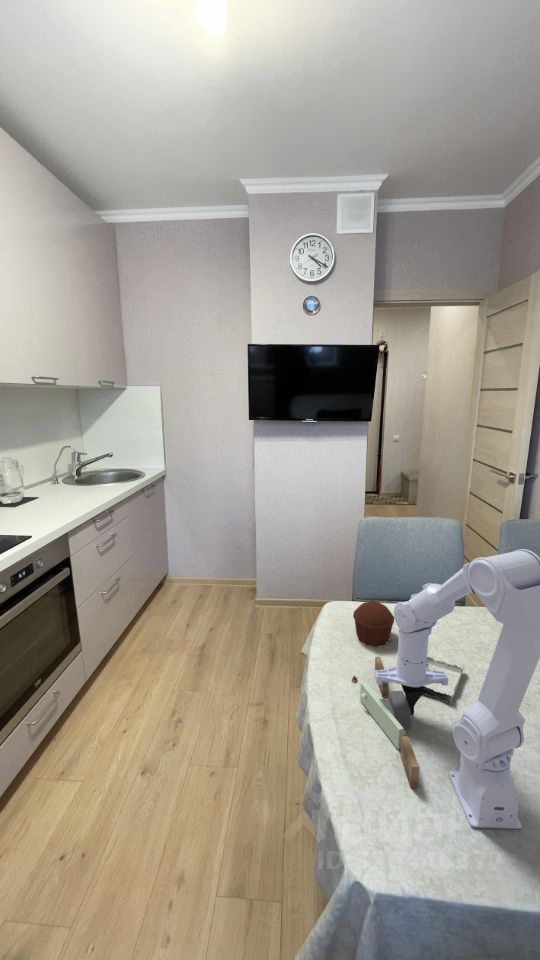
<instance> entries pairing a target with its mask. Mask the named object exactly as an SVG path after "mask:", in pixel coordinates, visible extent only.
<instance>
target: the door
mask: <svg viewBox="0 0 540 960" xmlns="http://www.w3.org/2000/svg"><path fill="white" fill-rule="evenodd" d="M359 693H360V698H359V701H360V702H361V704H362V705H363V706H364V707H365V708H366V710H367V711H368V712H369V714H370V715H371V716H372V718H373V719H374V720H375V722H376V723H377V724H378V725H379V726H380V728H381V730H382V731H383V733H385V735H386V736H387V737H388V739H389V740H390V741H391V743H392V744H393V745H394V746H395V748H397V750H401V739H402V731H405V730H404V729H405V728H403V727H402V726H401V725H400V723H399V722H398V721H397V720H396V719H395V717H394V716H393V715H392V714H391V713H390V711H389V710H388V709H387V708H386V707H385V706H384V704H383V703H382V702H381V701H380V700H379V699H380V698H379V697H378V696H377V694H375V692H374V691H373V690H372V688H370V686H369V685H368V684H367V683H366V682H365V681H363V682H360V692H359Z"/></svg>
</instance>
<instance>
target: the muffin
mask: <svg viewBox="0 0 540 960" xmlns="http://www.w3.org/2000/svg"><path fill="white" fill-rule="evenodd" d="M352 617H353V619H354V625H355V626H354V627H355V633H356V634H355V635H356V636H357V639H358V642H360V643H362V644H364V645H365V646H368V647H375V648H379V647H382V646H386V645H387V643H388V642H389V641H390V637H391V633H392V629H393V626H394V623H395V619H394V614H393V613H392V612H391V611H390V609H389V608H388V607H387V606H386V605H384V604H383V603H381V602H378V601H376V600H373V601H366V602H363V603H361V604H360V605H359V606H358V607H357V608H356V609H355V610H354V611H353V615H352Z"/></svg>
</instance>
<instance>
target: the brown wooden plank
mask: <svg viewBox="0 0 540 960" xmlns="http://www.w3.org/2000/svg"><path fill="white" fill-rule="evenodd" d="M384 669H385V667H384V664H383V660H382V658H381V656H374V671H375V670H384ZM377 686H378V688H379V691H380V695H381V697H383V698H384V697H385V698H388V694H389V691H388V690H389V683H385V682H382V684H381V685H377ZM400 759H401V762H402V766H403V768H404V772H405V775H406V778H407V782H408V785H409V788H410V789H418V787H419V786H418V784H419V783H418V782H419V771H420V767H419V763H418V760H417V758H416V754H415V751H414V749H413V747H412V743H411V741H410V738H409V736H407V731H406V730H404V731H402V739H401V749H400Z"/></svg>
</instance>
